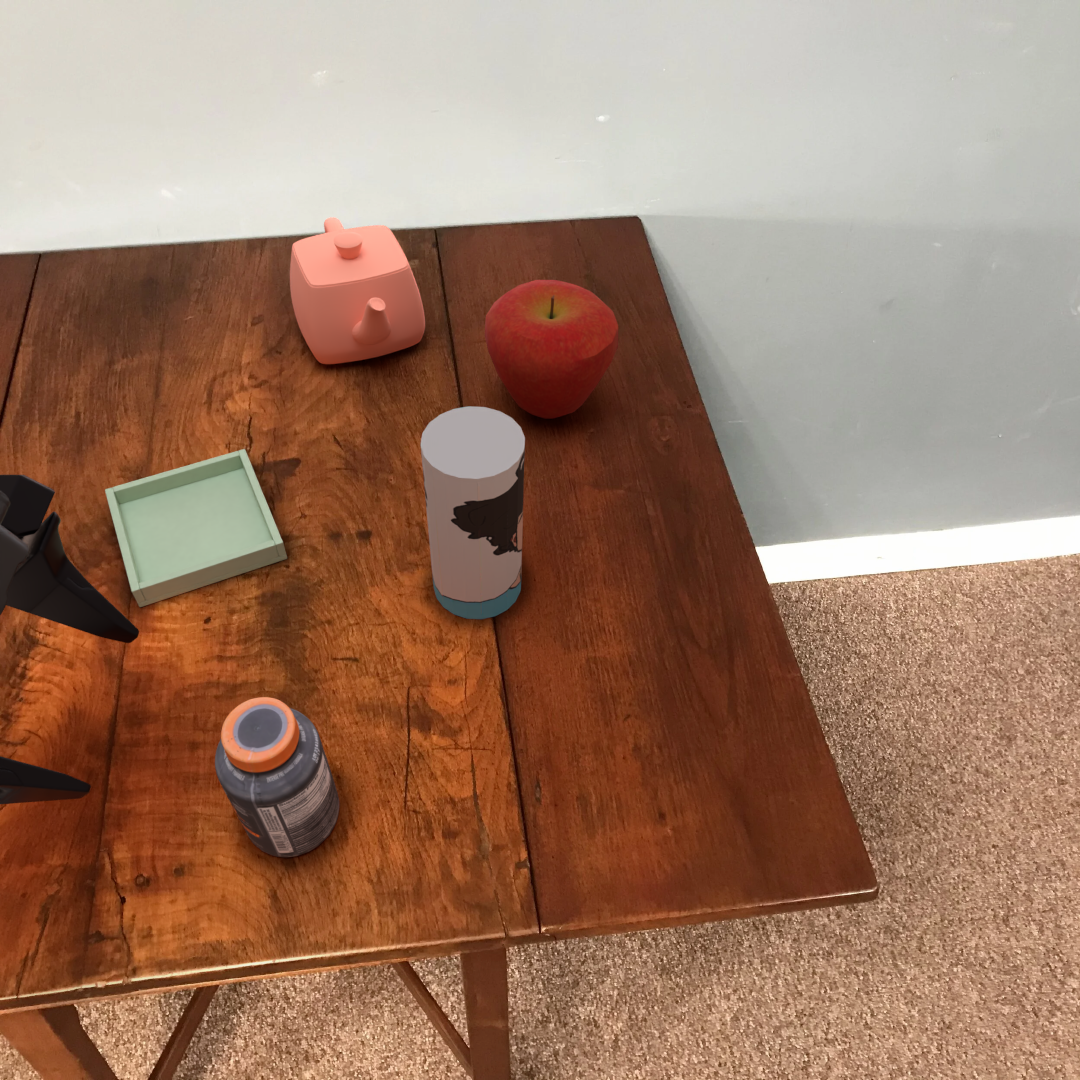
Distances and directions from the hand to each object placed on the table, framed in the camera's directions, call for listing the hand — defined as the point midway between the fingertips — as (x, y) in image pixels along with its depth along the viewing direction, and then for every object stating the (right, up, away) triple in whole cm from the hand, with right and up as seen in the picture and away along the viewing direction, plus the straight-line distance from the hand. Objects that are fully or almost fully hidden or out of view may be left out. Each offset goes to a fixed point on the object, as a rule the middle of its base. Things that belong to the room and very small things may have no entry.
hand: (112, 710), depth 49 cm
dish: (-5, +10, +25) cm, 27 cm away
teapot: (+5, +28, +41) cm, 51 cm away
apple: (+23, +21, +36) cm, 48 cm away
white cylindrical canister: (+18, +6, +23) cm, 29 cm away
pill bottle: (+7, -9, +10) cm, 15 cm away
